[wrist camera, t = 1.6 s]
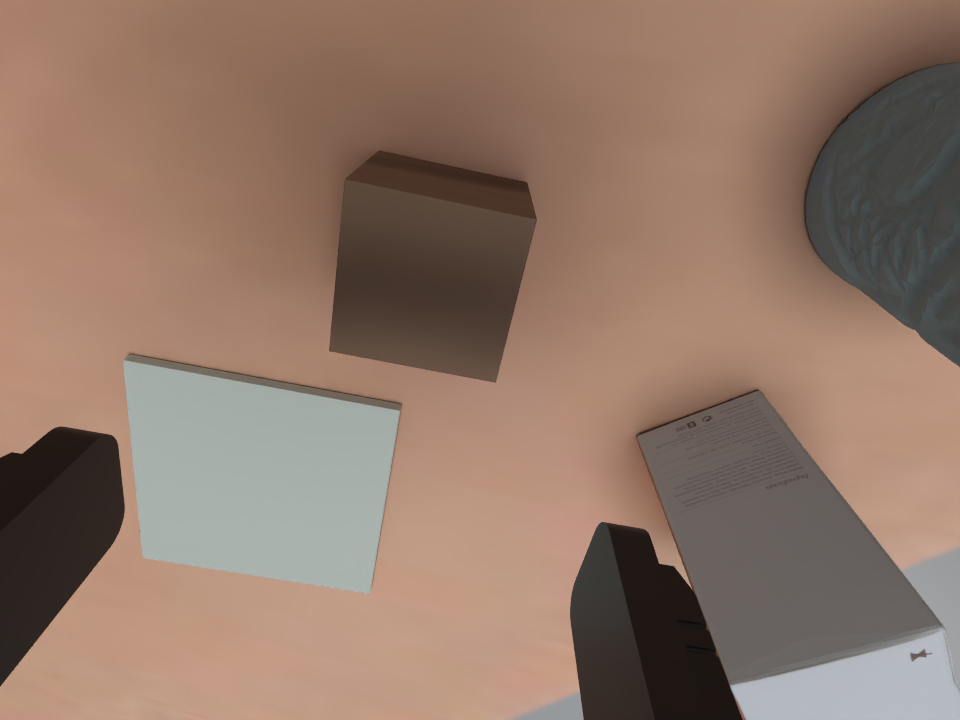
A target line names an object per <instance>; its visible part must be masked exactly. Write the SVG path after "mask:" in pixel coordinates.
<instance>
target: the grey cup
mask: <svg viewBox="0 0 960 720" xmlns="http://www.w3.org/2000/svg"><path fill="white" fill-rule="evenodd" d="M805 215H806V225H807V229H808V233H809V236H810V239H811V242H812V244H813V246H814V248H815V250H816V252H817V254H818V256H819V257H820V258H821V260H822V261H823V262H824V263H825V264H826V265H827V266H828V268H829V269H830V270H832V271H833V272H834V273H835V274H837V275H838V276H839V277H840V278H842V279H843V280H844V281H846V282H848V283H849V284H851V285H853V286H855V287H856V288H858V289H860V290H861V291H862V292H863V293H865V294H866V295H867V296H869V297H870V298H871V299H872V300H874V301H875V302H876V303H877V304H879V305H880V306H881V307H882V308H884V309H885V310H886V311H887V312H889V313H890V314H891V315H893V316H894V317H895V318H896V319H898V320H899V321H900V322H901V323H903V324H904V325H905V326H907V327H909V328H911V329H914V330H916V331H917V332H918V334H919V335H920V336H921V338H922V339H923V340H925V341H926V342H927V343H928V344H929V345H931V346H932V347H934V348H935V349H936V350H938V351H939V352H940V353H941V354H943V355H944V356H946V357H947V358H948V359H950V360H951V361H952V362H954V363H955V364H956V365H958V366H959V367H960V63H950V64H940V65H936V66H933V67H930V68H926V69H923V70H920V71H917V72H913V73H911V74H910V75H908V76H906V77H904V78H901V79H899V80H896V81H895V82H894V83H893V84H891V85H889V86H887V87H885V88H884V89H882V90H881V91H879V92H878V93H877V94H875V95H874V96H872V97H871V98H869V99H868V100H867V101H866V102H864V103H863V104H862V105H861V106H860V107H859V108H858V109H857V110H856V111H855V112H853V113H851V114H850V115H849V116H848V118H847V120H846V122H844V123H842V124H840V126H839V127H838V129H837V130H836V131H835V132H834V133H833V134H832V136H831V137H830V139H829V140H828V142H827V143H826V145H825V146H824V148H823V150H822V151H821V153H820V155H819V158H818V160H817V162H816V164H815V166H814V169H813V172H812V175H811V178H810V182H809V186H808V189H807V194H806V203H805Z"/></svg>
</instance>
